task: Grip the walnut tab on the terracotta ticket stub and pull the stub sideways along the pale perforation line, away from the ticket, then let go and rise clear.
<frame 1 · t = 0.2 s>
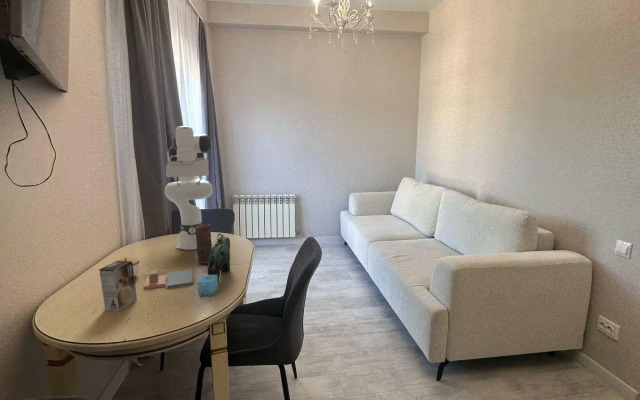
hand: (188, 185, 168), 39 cm above the table, tool pointing down, fingers open, 8 cm apart
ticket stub: (155, 277, 144), point 3 cm above the table, slide at 0.0 cm
ticket: (167, 281, 146), on the table
coffee box: (121, 305, 125), on the table
lidded jar: (127, 278, 150), on the table
candle: (205, 263, 168), on the table
teapot: (208, 294, 133), on the table
teal spotted shape: (221, 278, 150), on the table
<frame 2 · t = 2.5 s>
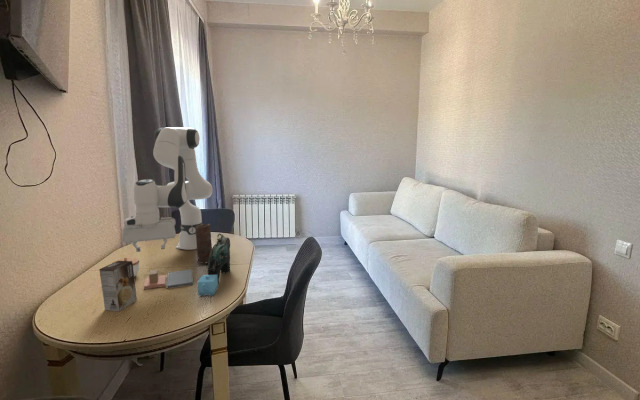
hand: (151, 250, 141), 15 cm above the table, tool pointing down, fingers open, 8 cm apart
nothing on the table moved.
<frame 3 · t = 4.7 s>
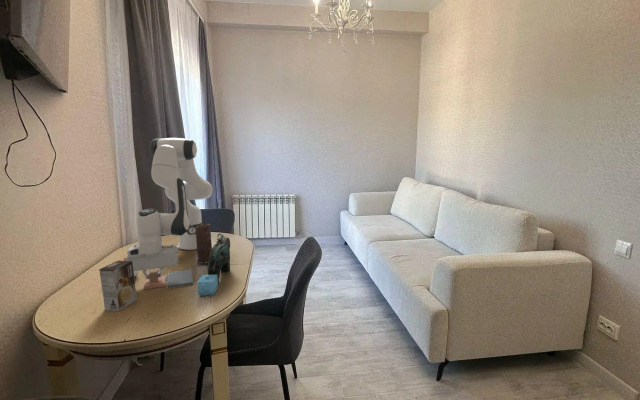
hand: (153, 277, 143), 3 cm above the table, tool pointing down, fingers closed on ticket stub, 3 cm apart
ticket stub: (155, 277, 144), point 3 cm above the table, slide at 0.0 cm, touching gripper
everything else where it was.
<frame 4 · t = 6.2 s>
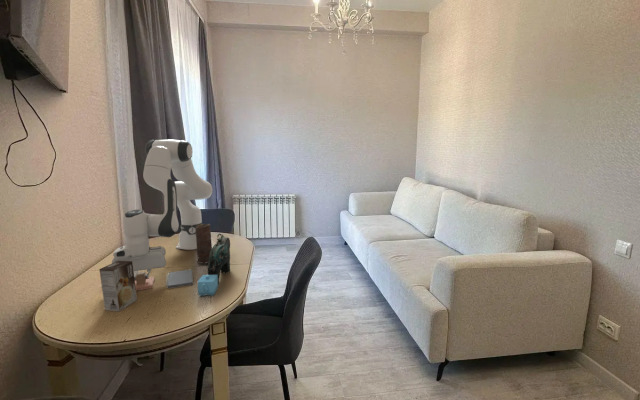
hand: (141, 279, 142), 3 cm above the table, tool pointing down, fingers closed on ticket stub, 3 cm apart
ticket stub: (142, 279, 142), point 3 cm above the table, slide at 4.9 cm, touching gripper
everything else where it was.
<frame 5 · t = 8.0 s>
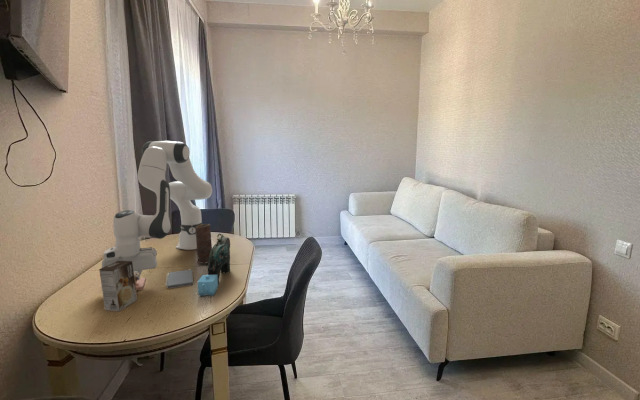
hand: (131, 280, 140), 3 cm above the table, tool pointing down, fingers closed on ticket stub, 3 cm apart
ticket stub: (133, 280, 140), point 3 cm above the table, slide at 8.4 cm, touching gripper
everything else where it was.
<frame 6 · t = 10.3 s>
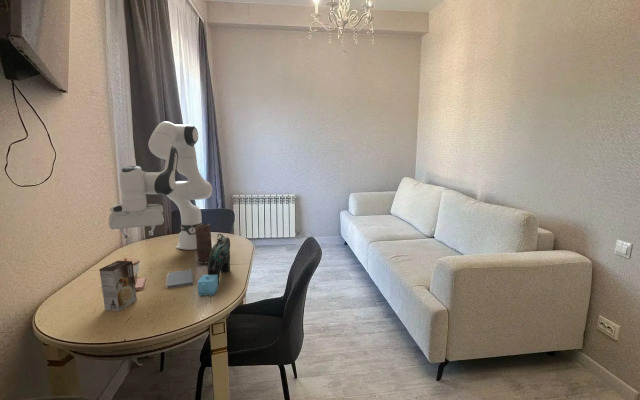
hand: (139, 236, 141), 21 cm above the table, tool pointing down, fingers open, 8 cm apart
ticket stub: (133, 280, 140), point 3 cm above the table, slide at 8.4 cm
everything else where it was.
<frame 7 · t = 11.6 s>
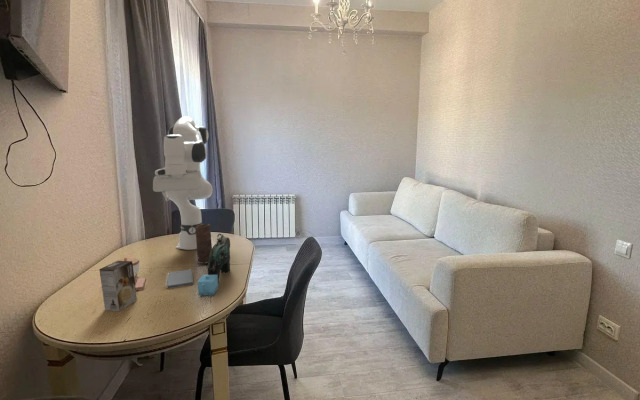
hand: (178, 200, 153), 34 cm above the table, tool pointing down, fingers open, 8 cm apart
nothing on the table moved.
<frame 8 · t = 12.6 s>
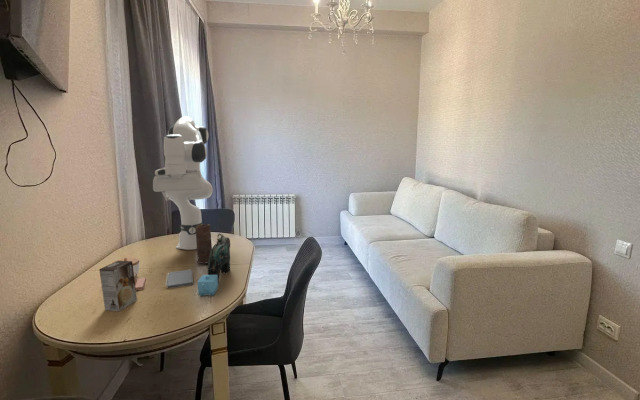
hand: (178, 200, 153), 34 cm above the table, tool pointing down, fingers open, 8 cm apart
nothing on the table moved.
at the end: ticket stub slide at 8.4 cm; the gripper is holding nothing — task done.
